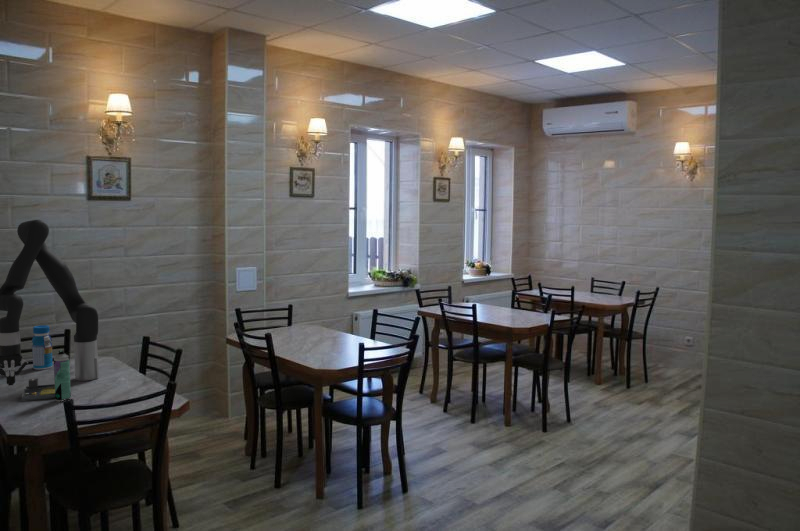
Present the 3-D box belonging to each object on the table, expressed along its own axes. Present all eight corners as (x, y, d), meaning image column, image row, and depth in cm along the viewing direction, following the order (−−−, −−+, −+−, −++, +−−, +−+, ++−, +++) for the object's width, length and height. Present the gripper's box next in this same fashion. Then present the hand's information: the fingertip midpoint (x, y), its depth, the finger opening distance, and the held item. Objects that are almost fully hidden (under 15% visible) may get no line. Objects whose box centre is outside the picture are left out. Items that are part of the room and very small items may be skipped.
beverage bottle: (32, 370, 297) (30, 328, 295) (33, 366, 304) (31, 325, 303) (52, 368, 301) (51, 327, 299) (53, 364, 308) (51, 324, 306)
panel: (67, 389, 267) (67, 382, 267) (64, 397, 257) (63, 390, 257) (26, 393, 262) (26, 386, 262) (21, 401, 251) (21, 394, 251)
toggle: (38, 388, 262) (37, 378, 262) (37, 389, 260) (36, 379, 259) (30, 388, 261) (29, 378, 261) (28, 390, 259) (28, 380, 258)
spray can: (67, 396, 258) (65, 348, 256) (73, 399, 254) (71, 350, 253) (53, 399, 254) (50, 350, 252) (58, 402, 250) (56, 352, 248)
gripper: (30, 340, 262) (31, 381, 263) (-8, 341, 257) (-6, 383, 259) (26, 343, 255) (27, 386, 256) (-12, 345, 250) (-11, 388, 252)
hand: (11, 384), depth 258 cm, fingers closed
